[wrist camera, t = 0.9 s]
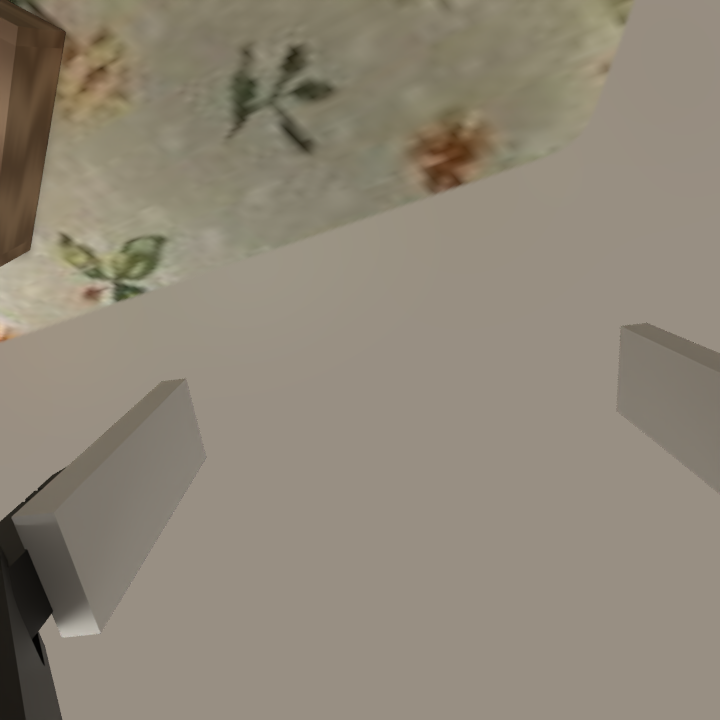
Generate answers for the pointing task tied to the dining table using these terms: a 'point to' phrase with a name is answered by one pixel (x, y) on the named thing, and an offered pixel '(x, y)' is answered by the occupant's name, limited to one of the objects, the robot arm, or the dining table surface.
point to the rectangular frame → (24, 119)
